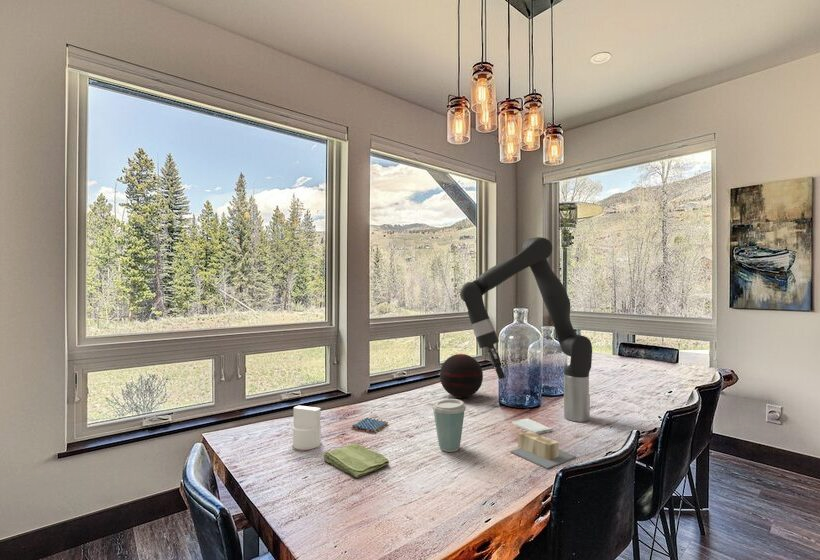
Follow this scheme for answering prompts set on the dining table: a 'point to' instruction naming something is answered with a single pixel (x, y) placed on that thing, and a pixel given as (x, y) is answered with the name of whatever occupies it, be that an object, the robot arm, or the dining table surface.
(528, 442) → the maple block
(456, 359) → the decorative orb
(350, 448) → the washcloth
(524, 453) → the felt mat
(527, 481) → the dining table surface
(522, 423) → the hard drive
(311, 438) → the white lidded canister
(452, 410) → the disposable coffee cup
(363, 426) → the woven mat
